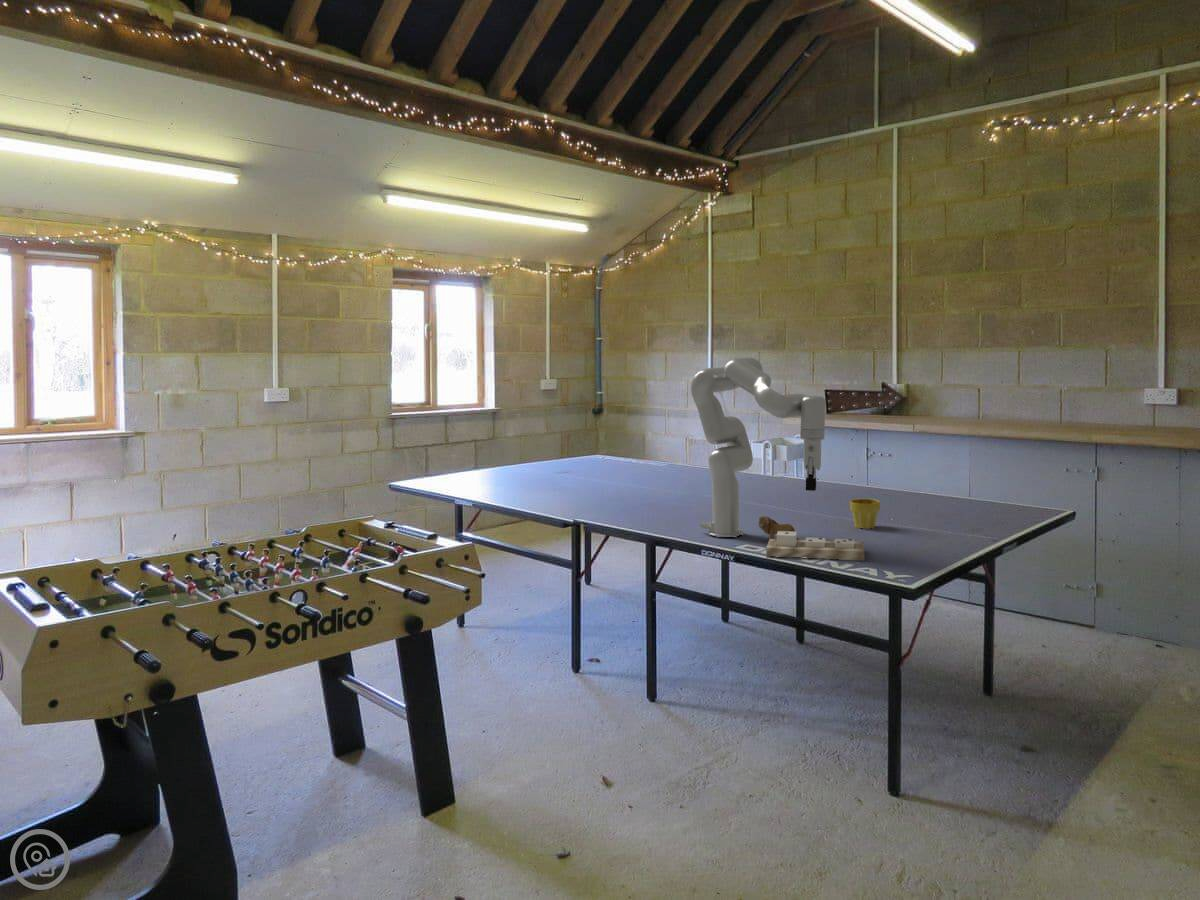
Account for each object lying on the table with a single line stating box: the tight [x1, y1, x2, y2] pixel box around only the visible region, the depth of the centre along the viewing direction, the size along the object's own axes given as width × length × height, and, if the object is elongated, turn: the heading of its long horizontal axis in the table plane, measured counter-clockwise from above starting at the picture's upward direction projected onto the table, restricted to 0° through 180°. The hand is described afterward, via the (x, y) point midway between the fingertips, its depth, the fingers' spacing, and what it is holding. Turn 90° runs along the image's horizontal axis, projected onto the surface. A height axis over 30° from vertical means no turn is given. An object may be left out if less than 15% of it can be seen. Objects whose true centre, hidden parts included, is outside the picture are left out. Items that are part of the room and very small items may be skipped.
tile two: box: [805, 536, 826, 548], centre depth 278 cm, size 6×6×4 cm
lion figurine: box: [757, 515, 799, 540], centre depth 295 cm, size 15×5×9 cm, turn 68°
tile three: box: [834, 538, 855, 549], centre depth 276 cm, size 6×6×4 cm
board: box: [765, 538, 865, 562], centre depth 279 cm, size 30×13×3 cm, turn 74°
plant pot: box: [849, 498, 881, 530], centre depth 315 cm, size 10×10×10 cm
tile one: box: [776, 531, 798, 547], centre depth 281 cm, size 6×6×4 cm
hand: (810, 489), depth 281 cm, fingers closed
